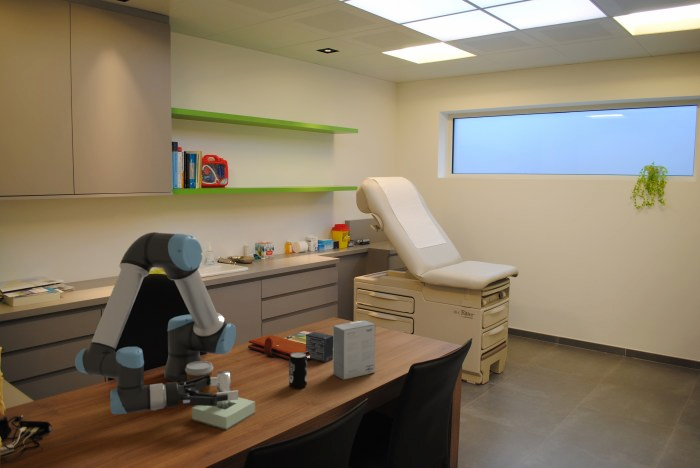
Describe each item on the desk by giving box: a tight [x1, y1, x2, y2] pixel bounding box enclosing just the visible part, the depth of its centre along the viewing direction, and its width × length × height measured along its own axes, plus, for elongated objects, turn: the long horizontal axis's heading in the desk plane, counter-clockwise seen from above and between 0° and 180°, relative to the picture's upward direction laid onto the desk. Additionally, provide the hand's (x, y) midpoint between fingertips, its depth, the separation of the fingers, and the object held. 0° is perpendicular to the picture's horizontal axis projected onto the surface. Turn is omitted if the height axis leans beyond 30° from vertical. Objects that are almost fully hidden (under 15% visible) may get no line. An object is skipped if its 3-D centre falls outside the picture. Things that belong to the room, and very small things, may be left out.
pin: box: [216, 370, 231, 410], centre depth 177 cm, size 4×4×14 cm
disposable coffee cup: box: [185, 360, 214, 394], centre depth 191 cm, size 10×10×12 cm
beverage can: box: [288, 351, 308, 390], centre depth 204 cm, size 7×7×12 cm
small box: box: [305, 331, 333, 363], centre depth 235 cm, size 11×6×10 cm, turn 58°
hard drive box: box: [332, 319, 376, 381], centre depth 217 cm, size 16×8×20 cm, turn 123°
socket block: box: [191, 396, 256, 431], centre depth 177 cm, size 14×14×4 cm
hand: (234, 386), depth 178 cm, fingers open, 13 cm apart
